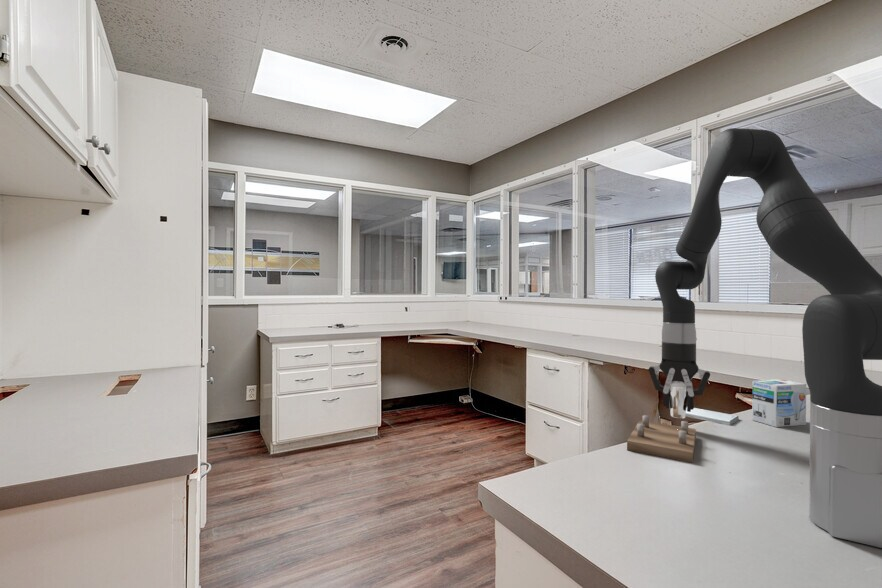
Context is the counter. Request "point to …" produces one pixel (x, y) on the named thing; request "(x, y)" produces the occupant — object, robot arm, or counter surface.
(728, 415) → the hard drive
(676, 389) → the milkshake
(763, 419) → the light bulb box
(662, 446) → the peg plinth
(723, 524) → the counter surface
